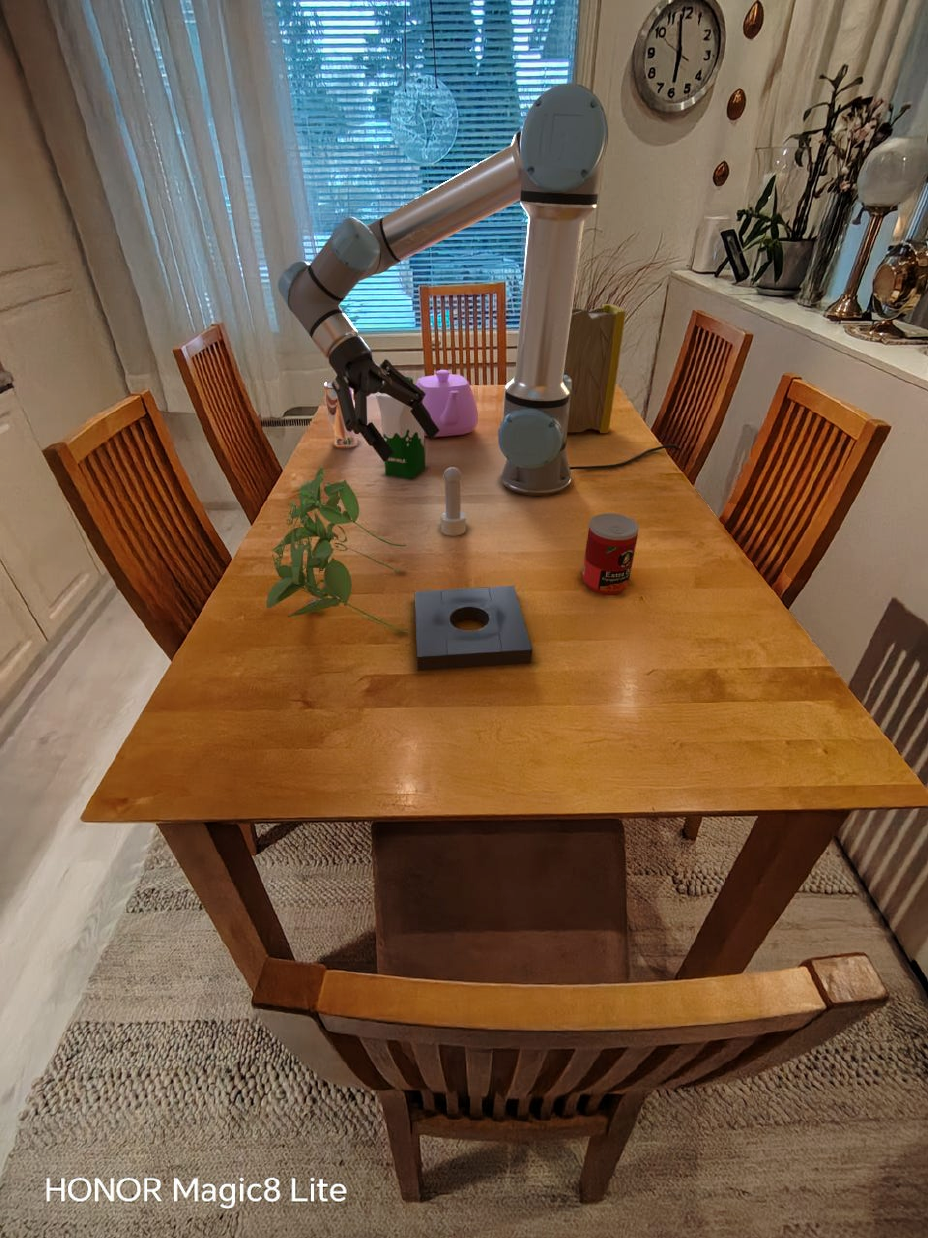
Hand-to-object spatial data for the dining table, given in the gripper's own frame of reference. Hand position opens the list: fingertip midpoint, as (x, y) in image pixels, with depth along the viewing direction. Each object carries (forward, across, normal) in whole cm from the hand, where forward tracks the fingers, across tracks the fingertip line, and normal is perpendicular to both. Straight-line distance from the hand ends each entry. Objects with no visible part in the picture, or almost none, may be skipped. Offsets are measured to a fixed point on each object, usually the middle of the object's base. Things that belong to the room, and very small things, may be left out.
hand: (412, 445), depth 109 cm
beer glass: (-18, -21, -39) cm, 48 cm away
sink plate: (+31, +24, +10) cm, 41 cm away
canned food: (+39, 0, +18) cm, 43 cm away
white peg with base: (+17, 0, -4) cm, 17 cm away
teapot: (-7, -43, -28) cm, 52 cm away
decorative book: (+12, -62, -9) cm, 64 cm away
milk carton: (-1, -16, -22) cm, 28 cm away
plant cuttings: (+17, +30, -4) cm, 35 cm away
